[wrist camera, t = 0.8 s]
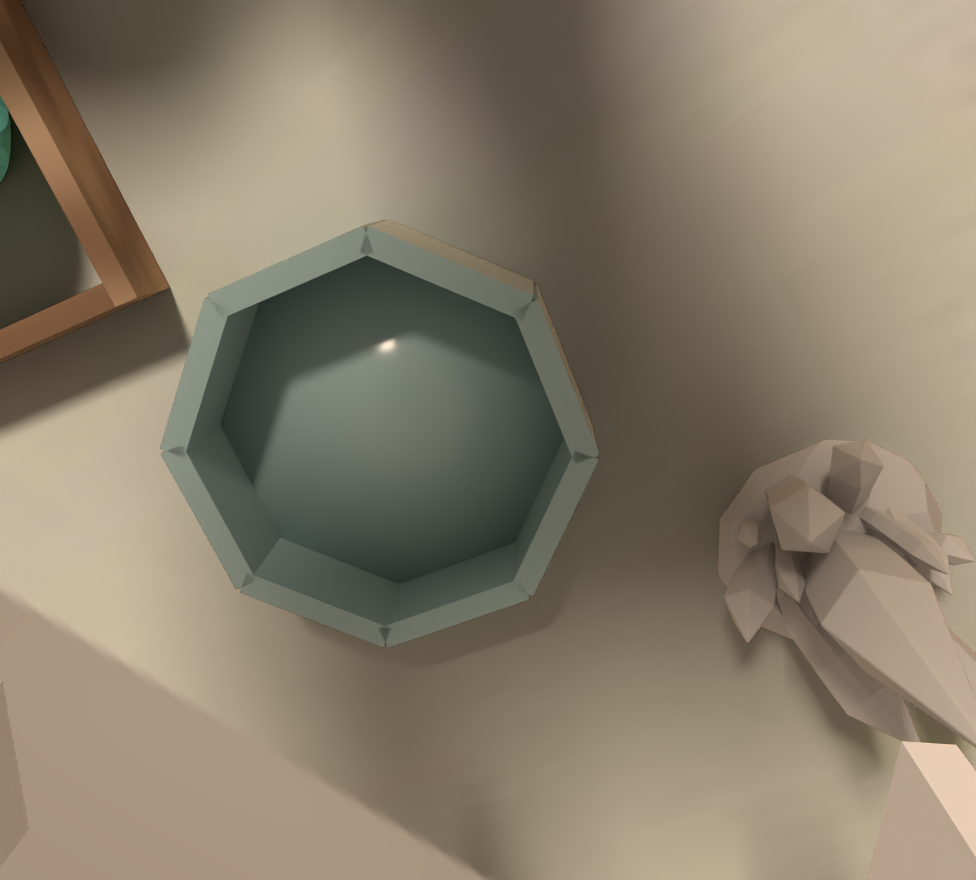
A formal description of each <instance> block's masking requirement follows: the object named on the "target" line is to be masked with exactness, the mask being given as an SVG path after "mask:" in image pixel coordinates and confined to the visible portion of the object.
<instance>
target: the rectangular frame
mask: <svg viewBox="0 0 976 880" xmlns="http://www.w3.org/2000/svg"><path fill="white" fill-rule="evenodd" d="M0 95H1V97H2V99H3V101H4V103H5V105H6V106H7V108H8V110H9V112H10V114H11V116H12V117H13V119H14V121H15V123H16V125H17V127H18V129H19V130H20V132H21V134H22V136H23V138H24V140H25V141H26V143H27V145H28V147H29V149H30V151H31V152H32V154H33V156H34V158H35V160H36V162H37V163H38V165H39V167H40V169H41V171H42V173H43V174H44V176H45V178H46V180H47V182H48V184H49V186H50V187H51V189H52V191H53V193H54V195H55V197H56V198H57V200H58V202H59V204H60V206H61V208H62V209H63V211H64V213H65V215H66V217H67V219H68V220H69V222H70V224H71V226H72V228H73V230H74V231H75V233H76V235H77V237H78V239H79V241H80V242H81V244H82V246H83V248H84V250H85V252H86V254H87V255H88V257H89V259H90V261H91V263H92V265H93V266H94V268H95V270H96V272H97V274H98V276H99V277H100V279H101V281H102V284H100V285H97V286H95V287H93V288H91V289H89V290H87V291H84V292H82V293H80V294H78V295H76V296H73V297H71V298H69V299H67V300H65V301H62V302H60V303H58V304H56V305H54V306H51V307H49V308H47V309H45V310H43V311H40V312H38V313H36V314H34V315H32V316H29V317H27V318H25V319H23V320H21V321H18V322H16V323H14V324H12V325H10V326H7V327H5V328H3V329H1V330H0V363H2V362H4V361H7V360H9V359H11V358H13V357H16V356H18V355H20V354H22V353H25V352H27V351H29V350H31V349H34V348H36V347H38V346H40V345H43V344H45V343H47V342H49V341H51V340H54V339H56V338H58V337H60V336H63V335H65V334H67V333H69V332H72V331H74V330H76V329H78V328H81V327H83V326H85V325H87V324H90V323H92V322H94V321H96V320H98V319H101V318H103V317H105V316H107V315H110V314H112V313H114V312H116V311H119V310H121V309H123V308H125V307H128V306H130V305H132V304H134V303H137V302H139V301H141V300H143V299H146V298H148V297H150V296H152V295H154V294H157V293H159V292H161V291H163V290H166V289H168V288H170V287H169V285H168V283H167V281H166V279H165V277H164V275H163V273H162V271H161V270H160V268H159V266H158V264H157V262H156V260H155V258H154V256H153V254H152V252H151V250H150V248H149V247H148V245H147V243H146V241H145V239H144V237H143V235H142V233H141V231H140V229H139V227H138V225H137V224H136V222H135V220H134V218H133V216H132V214H131V212H130V210H129V208H128V206H127V204H126V202H125V201H124V199H123V197H122V195H121V193H120V191H119V189H118V187H117V185H116V183H115V181H114V179H113V178H112V176H111V174H110V172H109V170H108V168H107V166H106V164H105V162H104V160H103V158H102V156H101V155H100V153H99V151H98V149H97V147H96V145H95V143H94V141H93V139H92V137H91V135H90V133H89V131H88V130H87V128H86V126H85V124H84V122H83V120H82V118H81V116H80V114H79V112H78V110H77V108H76V107H75V105H74V103H73V101H72V99H71V97H70V95H69V93H68V91H67V89H66V87H65V85H64V84H63V82H62V80H61V78H60V76H59V74H58V72H57V70H56V68H55V66H54V64H53V62H52V61H51V59H50V57H49V55H48V53H47V51H46V49H45V47H44V45H43V43H42V41H41V39H40V38H39V36H38V34H37V32H36V30H35V28H34V26H33V24H32V22H31V20H30V18H29V16H28V15H27V13H26V11H25V9H24V7H23V5H22V3H21V1H20V0H0Z"/></svg>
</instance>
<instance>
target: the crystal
mask: <svg viewBox="0 0 976 880" xmlns="http://www.w3.org/2000/svg"><path fill="white" fill-rule="evenodd" d="M941 522H942V513H941V510H940V508H939V506H938V505H937V503H936V501H935V499H934V497H933V496H932V494H931V492H930V490H929V488H928V487H927V485H926V483H925V481H924V480H923V479H922V477H921V476H920V475H919V474H918V472H917V471H916V470H915V469H914V467H913V466H912V465H911V464H910V462H909V461H908V460H907V459H906V458H904V457H901V456H899V455H897V454H895V453H892V452H890V451H888V450H886V449H883V448H881V447H879V446H877V445H874V444H872V443H870V442H868V441H867V440H861V441H843V440H822V441H820V442H818V443H815V444H813V445H811V446H809V447H807V448H804V449H802V450H800V451H797V452H795V453H792V454H790V455H788V456H785V457H783V458H780V459H778V460H775V461H773V462H771V463H768V464H766V465H763V466H761V467H759V468H757V469H756V470H754V472H753V473H752V474H751V476H750V477H749V479H748V480H747V482H746V483H745V484H744V486H743V487H742V489H741V490H740V492H739V493H738V494H737V496H736V497H735V499H734V500H733V501H732V503H731V504H730V506H729V507H728V509H727V510H726V511H725V513H724V514H723V516H722V517H721V518H720V526H719V553H718V576H719V578H720V579H721V581H722V582H723V583H724V585H725V586H726V588H727V590H726V593H725V596H724V599H725V602H726V605H727V607H728V610H729V613H730V616H731V618H732V620H733V622H734V624H735V625H736V627H737V628H738V630H739V632H740V633H741V635H742V636H743V638H744V640H745V641H746V642H747V643H748V642H749V641H750V640H751V639H752V638H753V636H754V635H755V634H756V633H757V631H758V630H759V629H760V628H761V627H762V628H765V629H767V630H770V631H772V632H774V633H777V634H779V635H781V636H784V637H786V638H789V639H793V640H794V642H795V643H796V645H797V646H798V647H799V649H800V650H801V652H802V653H803V655H804V656H805V658H806V659H807V660H808V662H809V663H810V665H811V666H812V668H813V669H814V671H815V672H816V673H817V675H818V676H819V678H820V679H821V680H822V682H823V683H824V684H825V686H826V687H827V688H828V690H829V691H830V692H831V694H832V695H833V696H834V698H835V699H836V700H837V702H838V703H839V704H840V706H841V707H842V708H843V710H844V711H845V712H846V714H847V715H849V716H851V717H853V718H855V719H857V720H859V721H861V722H863V723H865V724H867V725H870V726H872V727H874V728H876V729H878V730H880V731H882V732H884V733H886V734H888V735H890V736H892V737H894V738H896V739H898V740H901V741H905V742H920V739H919V737H918V734H917V732H916V729H915V727H914V725H913V722H912V720H911V717H910V715H909V712H908V710H907V707H906V705H905V702H904V700H903V698H904V699H905V700H907V701H908V702H910V703H911V704H913V705H914V706H916V707H917V708H919V709H920V710H922V711H923V712H925V713H926V714H927V715H929V716H930V717H932V718H933V719H935V720H936V721H938V722H939V723H941V724H942V725H944V726H945V727H947V728H948V729H949V730H951V731H952V732H954V733H955V734H957V735H958V736H960V737H961V738H963V739H964V740H966V741H967V742H969V743H970V744H971V745H973V746H974V747H976V653H974V652H973V651H972V650H971V649H970V648H969V647H968V646H967V645H966V644H965V643H964V642H963V641H962V640H961V639H960V638H959V637H958V636H956V635H955V634H954V633H953V632H952V631H951V630H950V629H949V628H948V626H947V624H946V621H945V619H944V616H943V613H942V611H941V608H940V606H939V603H938V600H937V598H936V595H935V593H934V590H933V588H932V585H931V584H934V585H935V586H937V587H939V588H941V589H942V590H944V591H946V592H947V593H949V594H951V595H952V594H953V592H952V585H951V577H950V569H949V564H951V565H958V564H963V563H969V562H974V559H973V557H972V554H971V552H970V550H969V548H968V546H967V544H966V541H965V539H964V538H963V537H959V536H955V535H950V534H944V533H941Z"/></svg>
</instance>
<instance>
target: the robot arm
mask: <svg viewBox="0 0 976 880" xmlns="http://www.w3.org/2000/svg"><path fill="white" fill-rule="evenodd" d="M28 830H29V825H28V820H27V814H26V808H25V803H24V797H23V793H22V786H21V781H20V775H19V770H18V764H17V759H16V753H15V748H14V742H13V737H12V731H11V726H10V720H9V715H8V709H7V704H6V698H5V693H4V687H3V682H0V867H1V866H2V864H3V863H4V862H5V860H6V859H7V858H8V856H9V855H10V854H11V852H12V851H13V850H14V848H15V847H16V846H17V844H18V843H19V842H20V840H21V839H22V838H23V836H24V835H25V834H26V833H27V831H28ZM867 880H976V771H975V770H974V769H973V767H972V766H971V764H970V763H969V762H968V760H967V759H966V758H965V756H964V755H963V753H962V752H961V751H960V749H959V748H958V747H957V745H951V744H936V743H921V742H905V741H902V742H901V746H900V750H899V754H898V758H897V762H896V766H895V770H894V774H893V778H892V782H891V786H890V790H889V794H888V798H887V802H886V806H885V810H884V814H883V818H882V822H881V826H880V830H879V834H878V838H877V842H876V846H875V850H874V854H873V858H872V862H871V866H870V870H869V874H868V878H867Z"/></svg>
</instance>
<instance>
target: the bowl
mask: <svg viewBox="0 0 976 880" xmlns="http://www.w3.org/2000/svg"><path fill="white" fill-rule="evenodd" d="M208 296H209V297H206V298H204V301H203V304H202V308H201V311H200V315H199V318H198V321H197V325H196V328H195V331H194V335H193V338H192V342H191V345H190V348H189V352H188V355H187V359H186V362H185V365H184V369H183V372H182V375H181V379H180V382H179V386H178V389H177V392H176V396H175V399H174V403H173V406H172V409H171V413H170V416H169V419H168V423H167V426H166V430H165V433H164V436H163V440H162V443H161V446H160V449H162V450H164V451H163V452H162V453H161V456H162V457H163V459H164V461H165V463H166V465H167V466H168V468H169V470H170V472H171V474H172V475H173V477H174V479H175V481H176V483H177V484H178V486H179V488H180V490H181V492H182V493H183V495H184V497H185V499H186V501H187V502H188V504H189V506H190V508H191V510H192V511H193V513H194V515H195V517H196V518H197V520H198V522H199V524H200V526H201V527H202V529H203V531H204V533H205V535H206V536H207V538H208V540H209V542H210V544H211V545H212V547H213V549H214V551H215V553H216V554H217V556H218V558H219V560H220V562H221V563H222V565H223V567H224V569H225V571H226V572H227V574H228V576H229V578H230V580H231V581H232V583H233V585H234V587H235V589H238V588H241V587H242V588H241V590H240V593H242V594H245V595H248V596H250V597H253V598H255V599H258V600H261V601H263V602H266V603H268V604H271V605H274V606H276V607H279V608H281V609H284V610H287V611H289V612H292V613H294V614H297V615H300V616H302V617H305V618H307V619H310V620H313V621H315V622H318V623H320V624H323V625H325V626H328V627H331V628H333V629H336V630H338V631H341V632H344V633H346V634H349V635H351V636H354V637H357V638H359V639H362V640H364V641H367V642H370V643H372V644H375V645H377V646H380V647H384V645H385V643H386V645H387V647H388V648H390V647H392V646H395V645H398V644H401V643H404V642H407V641H410V640H413V639H416V638H419V637H422V636H424V635H427V634H430V633H433V632H436V631H439V630H442V629H445V628H448V627H451V626H454V625H456V624H459V623H462V622H465V621H468V620H471V619H474V618H477V617H480V616H483V615H486V614H488V613H491V612H494V611H497V610H500V609H503V608H506V607H509V606H512V605H515V604H518V603H520V602H523V601H526V600H529V595H531V596H533V595H534V593H535V591H536V589H537V587H538V585H539V583H540V581H541V579H542V577H543V574H544V572H545V570H546V568H547V566H548V564H549V562H550V560H551V558H552V556H553V554H554V552H555V550H556V548H557V546H558V544H559V542H560V539H561V537H562V535H563V533H564V531H565V529H566V527H567V525H568V523H569V521H570V519H571V517H572V515H573V513H574V511H575V509H576V506H577V504H578V502H579V500H580V498H581V496H582V494H583V492H584V490H585V488H586V486H587V484H588V482H589V480H590V478H591V476H592V473H593V471H594V469H595V467H596V465H597V463H598V461H599V458H598V455H599V452H598V447H597V443H596V439H595V435H594V431H593V426H592V422H591V420H590V417H589V414H588V412H587V409H586V407H585V404H584V402H583V399H582V397H581V394H580V392H579V389H578V387H577V384H576V381H575V379H574V376H573V374H572V371H571V369H570V366H569V364H568V361H567V359H566V356H565V354H564V351H563V349H562V346H561V343H560V341H559V338H558V336H557V333H556V331H555V328H554V326H553V323H552V321H551V318H550V316H549V313H548V310H547V308H546V305H545V303H544V300H543V298H542V295H541V293H540V290H539V288H538V285H535V286H534V281H533V280H530V279H528V278H526V277H523V276H521V275H519V274H516V273H514V272H512V271H509V270H507V269H504V268H502V267H500V266H497V265H495V264H493V263H490V262H488V261H486V260H483V259H481V258H479V257H476V256H474V255H471V254H469V253H467V252H464V251H462V250H460V249H457V248H455V247H453V246H450V245H448V244H446V243H443V242H441V241H438V240H436V239H434V238H431V237H429V236H427V235H424V234H422V233H420V232H417V231H415V230H413V229H410V228H408V227H406V226H403V225H401V224H398V223H396V222H394V221H391V220H388V221H385V220H382V221H378V222H375V223H371V224H367V225H363V226H361V227H359V228H356V229H354V230H352V231H350V232H347V233H345V234H343V235H340V236H338V237H336V238H334V239H331V240H329V241H327V242H325V243H322V244H320V245H318V246H316V247H313V248H311V249H309V250H306V251H304V252H302V253H300V254H297V255H295V256H293V257H291V258H288V259H286V260H284V261H282V262H279V263H277V264H275V265H272V266H270V267H268V268H266V269H263V270H261V271H259V272H257V273H254V274H252V275H250V276H248V277H245V278H243V279H241V280H238V281H236V282H234V283H232V284H229V285H227V286H225V287H223V288H220V289H218V290H216V291H214V292H211V293H209V294H208Z"/></svg>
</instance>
